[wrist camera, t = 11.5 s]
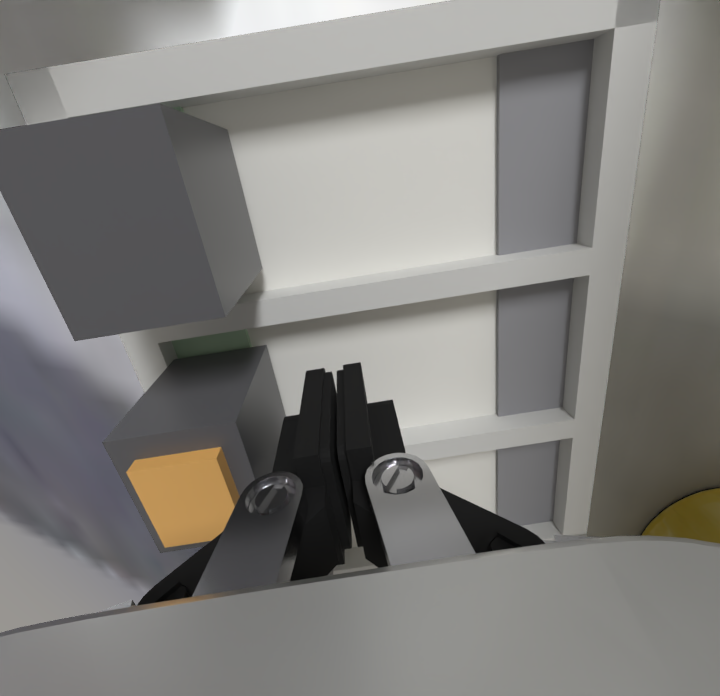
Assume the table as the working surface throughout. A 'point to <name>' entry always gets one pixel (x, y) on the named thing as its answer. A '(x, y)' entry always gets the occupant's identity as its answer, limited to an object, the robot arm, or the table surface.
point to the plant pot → (690, 518)
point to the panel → (422, 221)
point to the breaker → (131, 217)
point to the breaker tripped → (198, 443)
